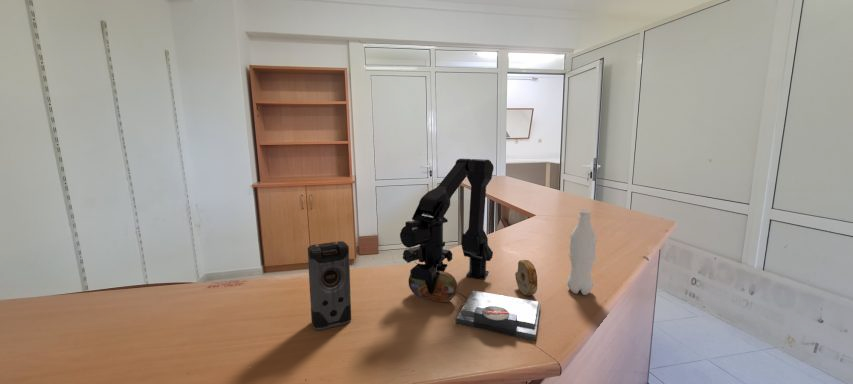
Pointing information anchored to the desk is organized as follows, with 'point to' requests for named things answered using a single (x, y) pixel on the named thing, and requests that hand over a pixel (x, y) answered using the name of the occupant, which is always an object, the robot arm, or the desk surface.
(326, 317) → the electronic device
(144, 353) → the desk surface
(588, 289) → the water bottle
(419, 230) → the robot arm
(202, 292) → the desk surface
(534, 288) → the stone disc
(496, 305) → the dial scale
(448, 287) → the tin
